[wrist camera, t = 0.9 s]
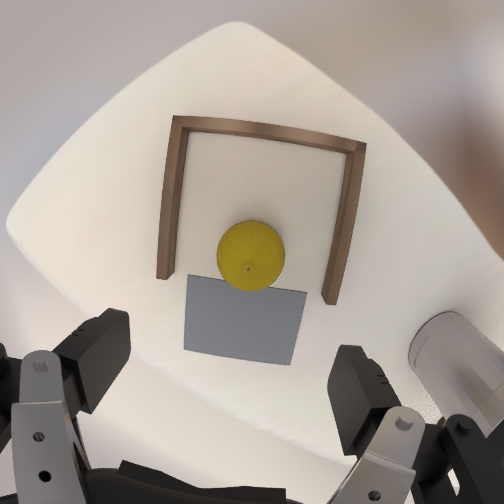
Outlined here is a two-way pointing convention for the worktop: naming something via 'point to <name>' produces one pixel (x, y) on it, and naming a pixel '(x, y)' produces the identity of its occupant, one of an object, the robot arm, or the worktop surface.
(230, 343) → the mat
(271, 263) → the lemon
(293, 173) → the worktop surface
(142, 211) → the worktop surface
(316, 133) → the bay
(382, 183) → the worktop surface
